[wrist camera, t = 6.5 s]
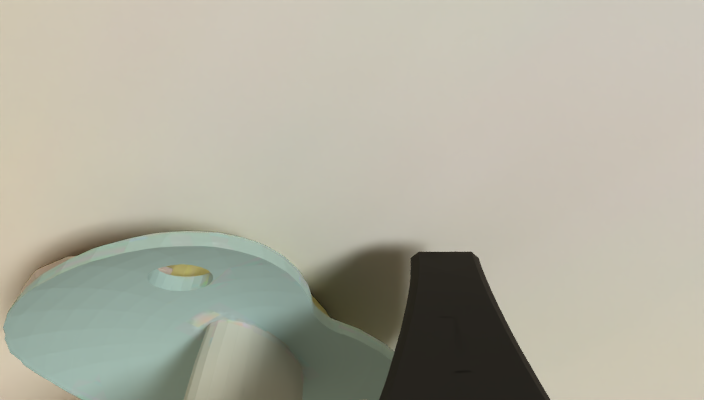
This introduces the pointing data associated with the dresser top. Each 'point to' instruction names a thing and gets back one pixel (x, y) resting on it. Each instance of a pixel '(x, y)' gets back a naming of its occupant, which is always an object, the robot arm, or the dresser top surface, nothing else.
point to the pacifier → (189, 325)
